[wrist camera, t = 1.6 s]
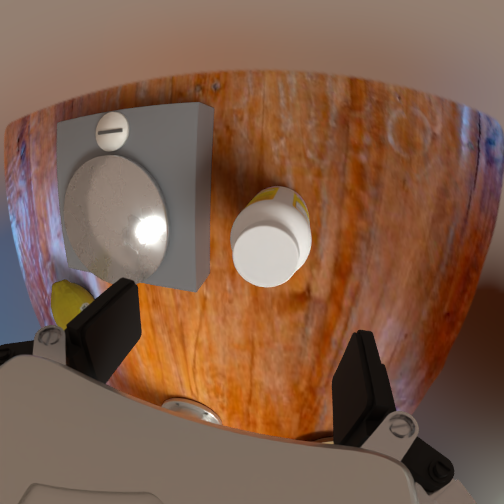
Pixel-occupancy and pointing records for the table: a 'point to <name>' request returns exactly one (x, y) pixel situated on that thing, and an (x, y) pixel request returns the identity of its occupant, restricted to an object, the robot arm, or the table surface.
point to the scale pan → (117, 219)
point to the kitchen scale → (153, 175)
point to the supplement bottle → (271, 237)
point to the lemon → (68, 301)
